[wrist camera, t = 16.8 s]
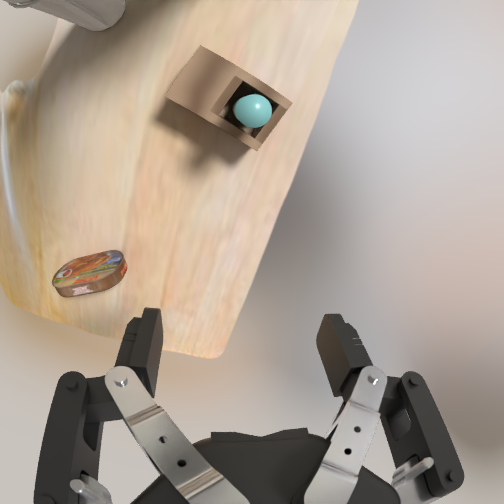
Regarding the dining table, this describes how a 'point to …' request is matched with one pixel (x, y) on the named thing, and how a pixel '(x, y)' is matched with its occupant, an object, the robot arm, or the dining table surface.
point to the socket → (223, 94)
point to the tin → (90, 274)
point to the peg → (252, 110)
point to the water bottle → (79, 11)
